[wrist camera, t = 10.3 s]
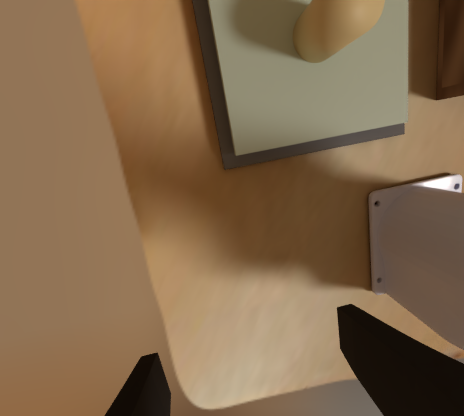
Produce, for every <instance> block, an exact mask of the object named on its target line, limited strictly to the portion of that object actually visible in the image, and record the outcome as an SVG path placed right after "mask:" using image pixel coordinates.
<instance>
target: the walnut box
mask: <svg viewBox="0 0 464 416" xmlns="http://www.w3.org/2000/svg"><path fill="white" fill-rule="evenodd" d="M462 95H464V0H440V9H439V39H438V69H437V99H436V100H441V99H446V98H451V97H457V96H462Z"/></svg>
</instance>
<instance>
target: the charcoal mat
mask: <svg viewBox="0 0 464 416" xmlns="http://www.w3.org/2000/svg"><path fill="white" fill-rule="evenodd" d="M192 1H193V7H194V12H195V17H196V23H197V28H198V33H199V38H200V44H201V49H202V54H203V60H204V65H205V70H206V75H207V81H208V86H209V91H210V96H211V102H212V107H213V112H214V118H215V123H216V128H217V133H218V139H219V144H220V149H221V154H222V160H223V165H224V169H225V170H226V169H231V168H236V167H241V166H246V165H251V164H256V163H261V162H266V161H271V160H276V159H281V158H286V157H291V156H296V155H301V154H306V153H311V152H316V151H321V150H326V149H332V148H337V147H342V146H347V145H352V144H357V143H362V142H367V141H372V140H377V139H382V138H387V137H392V136H397V135H402V134H404V123H401V124H395V125H390V126H385V127H380V128H375V129H370V130H365V131H360V132H355V133H350V134H345V135H339V136H334V137H329V138H324V139H319V140H314V141H309V142H304V143H299V144H294V145H289V146H283V147H278V148H273V149H268V150H263V151H258V152H253V153H248V154H243V155H238V156H235V153H234V147H233V142H232V136H231V130H230V125H229V119H228V113H227V108H226V102H225V96H224V91H223V85H222V80H221V74H220V68H219V63H218V57H217V51H216V46H215V40H214V34H213V29H212V23H211V18H210V12H209V6H208V1H207V0H192Z"/></svg>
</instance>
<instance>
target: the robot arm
mask: <svg viewBox="0 0 464 416" xmlns="http://www.w3.org/2000/svg"><path fill="white" fill-rule="evenodd" d="M454 185H455V187H454ZM461 190H462V177H461V175H459V174H451V175H446V176H442V177H437V178H432V179H428V180H423V181H418V182H414V183H409V184H404V185H400V186H395V187H390V188H386V189H381V190H377V191H373V192H371V193H370V195H369V224H370V251H371V277H372V291H373V292H374V293H375V294H377V295H381V294H385V293H387V294H388V295H389V296H390V297H392V298H393V299H394V300H395V301H397V302H398V303H399V304H401V305H402V306H403V307H404V308H406V309H407V310H408V311H409V312H411V313H412V314H413V315H414V316H416V317H417V318H418V319H420V320H421V321H422V322H423V323H425V324H426V325H427V326H428V327H430V328H431V329H432V330H434V331H435V332H436V333H437V334H439V335H440V336H441V337H442V338H444V339H445V340H447V341H448V342H450V343H452V344H453V345H455V346H457V347H459V348H461V349H463V350H464V193H461ZM376 201H377V204H376V205H374V204H375V202H376ZM378 278H379V279H378ZM377 279H378V280H377ZM337 314H338V326H339V339H340V349H341V351H342V353H343V354H344V356H345V358H346V360H347V362H348V363H349V365H350V367H351V369H352V370H353V372H354V374H355V375H356V377H357V378H358V380H359V381H360V383H361V384H362V385H363V387H364V388H365V390H366V391H367V393H368V394H369V395H370V397H371V398H372V400H373V401H374V403H375V404H376V405H377V407H378V408H379V409H380V411H381V412H382V414H383V415H384V416H464V364H463V363H461V362H459V361H457V360H455V359H453V358H450V357H448V356H446V355H444V354H442V353H440V352H438V351H436V350H434V349H432V348H430V347H428V346H426V345H424V344H422V343H420V342H419V341H417V340H415V339H413V338H411V337H409V336H407V335H405V334H404V333H402V332H400V331H398V330H396V329H395V328H393V327H391V326H389V325H387V324H386V323H384V322H382V321H380V320H379V319H377V318H375V317H374V316H372V315H370V314H368V313H367V312H365V311H363V310H361V309H360V308H358V307H356V306H354V305H352V304H349V305H345V306H341V307H337ZM170 401H171V392H170V390H169V386H168V383H167V380H166V377H165V374H164V371H163V368H162V365H161V361H160V358H159V355H158V353H154V354H150V355H146V356H142V357H141V358H140V359H139V361H138V363H137V364H136V366H135V368H134V369H133V371H132V373H131V374H130V376H129V378H128V379H127V381H126V383H125V384H124V386H123V388H122V389H121V391H120V392H119V394H118V395H117V397H116V399H115V400H114V402H113V403H112V405H111V407H110V408H109V410H108V411H107V413H106V414H105V416H170V404H171V402H170Z"/></svg>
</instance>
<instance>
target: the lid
mask: <svg viewBox="0 0 464 416" xmlns="http://www.w3.org/2000/svg"><path fill="white" fill-rule="evenodd" d="M207 1H208V6H209V12H210V18H211V23H212V29H213V34H214V40H215V46H216V51H217V57H218V63H219V68H220V74H221V80H222V85H223V91H224V96H225V102H226V108H227V113H228V119H229V125H230V130H231V136H232V142H233V147H234V153H235V156H238V155H243V154H248V153H253V152H258V151H263V150H268V149H273V148H278V147H283V146H289V145H294V144H299V143H304V142H309V141H314V140H319V139H324V138H329V137H334V136H339V135H345V134H350V133H355V132H360V131H365V130H370V129H375V128H380V127H385V126H390V125H395V124H401V123H406V122H408V0H207Z"/></svg>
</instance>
